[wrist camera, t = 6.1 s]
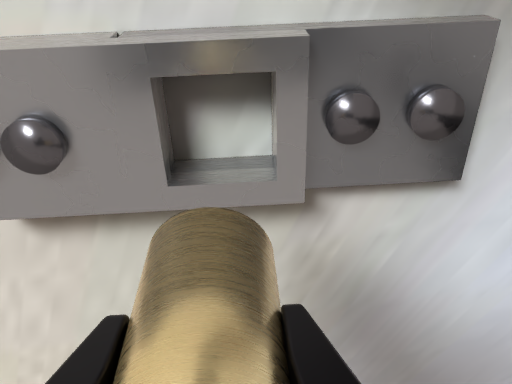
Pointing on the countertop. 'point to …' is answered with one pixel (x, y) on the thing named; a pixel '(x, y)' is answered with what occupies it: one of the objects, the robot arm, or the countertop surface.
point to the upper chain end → (135, 122)
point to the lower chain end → (377, 99)
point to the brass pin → (206, 306)
